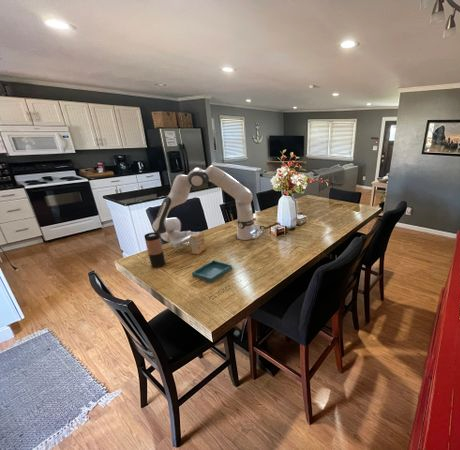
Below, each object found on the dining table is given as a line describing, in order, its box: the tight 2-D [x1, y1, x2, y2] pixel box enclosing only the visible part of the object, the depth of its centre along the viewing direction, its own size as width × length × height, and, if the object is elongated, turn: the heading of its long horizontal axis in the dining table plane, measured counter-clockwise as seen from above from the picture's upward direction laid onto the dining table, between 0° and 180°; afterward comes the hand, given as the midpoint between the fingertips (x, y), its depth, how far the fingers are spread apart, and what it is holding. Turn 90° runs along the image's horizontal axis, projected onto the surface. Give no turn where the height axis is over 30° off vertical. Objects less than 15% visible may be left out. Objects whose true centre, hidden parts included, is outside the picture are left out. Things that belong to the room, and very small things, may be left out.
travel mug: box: [144, 231, 166, 269], centre depth 142 cm, size 8×8×20 cm
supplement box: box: [190, 231, 206, 256], centre depth 160 cm, size 8×5×13 cm, turn 168°
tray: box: [191, 259, 233, 283], centre depth 137 cm, size 16×14×2 cm
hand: (194, 242), depth 162 cm, fingers open, 8 cm apart
